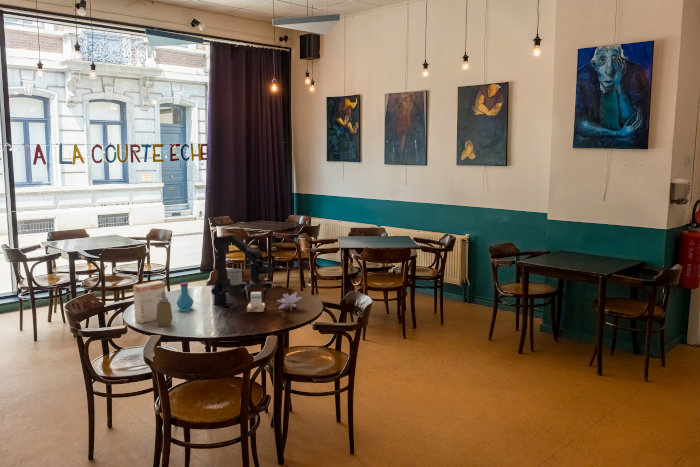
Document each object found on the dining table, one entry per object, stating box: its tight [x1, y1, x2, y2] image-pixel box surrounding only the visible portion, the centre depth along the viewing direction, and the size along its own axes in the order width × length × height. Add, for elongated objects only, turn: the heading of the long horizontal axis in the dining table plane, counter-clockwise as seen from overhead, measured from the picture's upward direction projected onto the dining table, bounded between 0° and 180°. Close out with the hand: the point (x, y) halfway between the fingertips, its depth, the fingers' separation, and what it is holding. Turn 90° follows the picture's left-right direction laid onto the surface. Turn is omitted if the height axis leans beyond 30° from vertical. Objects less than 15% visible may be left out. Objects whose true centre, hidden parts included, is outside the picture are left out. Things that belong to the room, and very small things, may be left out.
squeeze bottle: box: [155, 291, 173, 328], centre depth 309 cm, size 8×8×18 cm
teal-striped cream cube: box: [250, 291, 262, 307], centre depth 339 cm, size 6×6×7 cm
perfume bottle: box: [175, 282, 194, 312], centre depth 340 cm, size 9×9×15 cm
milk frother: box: [226, 268, 245, 296], centre depth 379 cm, size 14×16×15 cm
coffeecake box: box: [132, 280, 166, 324], centre depth 321 cm, size 15×7×20 cm, turn 134°
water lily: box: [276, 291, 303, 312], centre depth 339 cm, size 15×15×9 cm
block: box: [246, 302, 266, 313], centre depth 340 cm, size 9×9×3 cm
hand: (255, 300), depth 339 cm, fingers open, 9 cm apart
